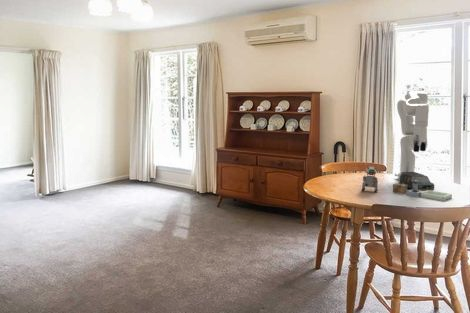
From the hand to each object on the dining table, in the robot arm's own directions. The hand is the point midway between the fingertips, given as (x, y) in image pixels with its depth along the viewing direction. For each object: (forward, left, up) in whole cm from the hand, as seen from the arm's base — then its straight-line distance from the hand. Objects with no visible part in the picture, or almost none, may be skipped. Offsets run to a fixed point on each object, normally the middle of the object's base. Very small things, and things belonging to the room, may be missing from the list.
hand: (419, 151), depth 264 cm
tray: (+17, -12, -25) cm, 32 cm away
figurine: (-18, -26, -25) cm, 40 cm away
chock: (-4, -15, -25) cm, 29 cm away
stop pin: (+6, -16, -25) cm, 30 cm away
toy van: (-1, +1, -25) cm, 25 cm away
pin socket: (+6, -16, -25) cm, 30 cm away
